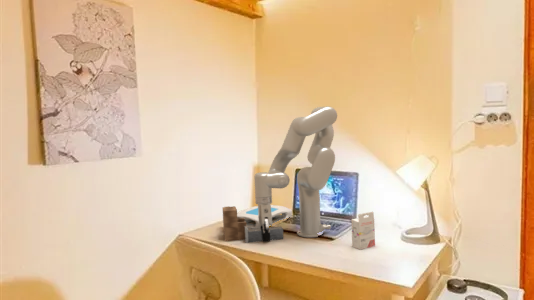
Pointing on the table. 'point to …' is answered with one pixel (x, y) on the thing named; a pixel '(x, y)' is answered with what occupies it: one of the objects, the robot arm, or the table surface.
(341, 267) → the table surface
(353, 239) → the ink cartridge box
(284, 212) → the white step stool
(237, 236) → the brown stepped block
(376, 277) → the table surface
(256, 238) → the grey rectangular block
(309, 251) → the table surface
